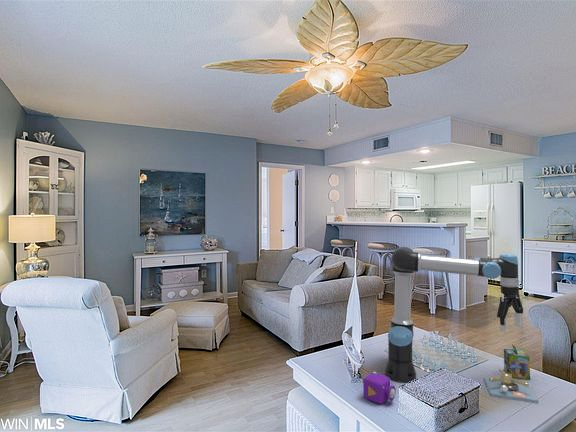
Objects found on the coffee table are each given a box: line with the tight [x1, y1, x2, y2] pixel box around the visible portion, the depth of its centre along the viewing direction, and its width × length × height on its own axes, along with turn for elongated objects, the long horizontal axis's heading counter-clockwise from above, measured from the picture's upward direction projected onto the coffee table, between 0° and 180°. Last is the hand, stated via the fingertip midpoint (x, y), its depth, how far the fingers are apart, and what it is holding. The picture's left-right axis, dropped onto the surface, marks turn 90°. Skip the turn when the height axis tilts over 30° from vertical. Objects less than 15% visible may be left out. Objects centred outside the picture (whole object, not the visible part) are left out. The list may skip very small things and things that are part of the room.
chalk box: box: [503, 344, 531, 380], centre depth 172 cm, size 9×9×15 cm
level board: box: [482, 376, 540, 404], centre depth 157 cm, size 18×17×2 cm
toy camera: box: [362, 371, 397, 405], centre depth 150 cm, size 11×14×10 cm
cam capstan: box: [489, 368, 530, 392], centre depth 157 cm, size 16×17×6 cm
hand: (511, 328), depth 165 cm, fingers open, 13 cm apart
